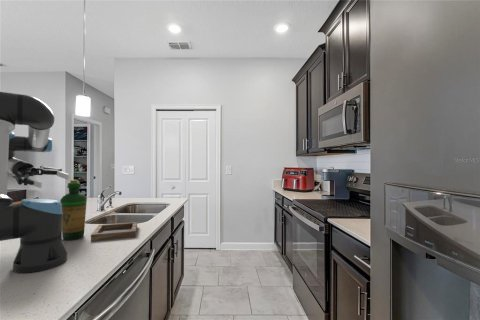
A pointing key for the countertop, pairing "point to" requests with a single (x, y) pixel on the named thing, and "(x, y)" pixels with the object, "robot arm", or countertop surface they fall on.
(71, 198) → the bottle
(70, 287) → the countertop surface
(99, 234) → the walnut frame
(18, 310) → the countertop surface
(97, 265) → the countertop surface
